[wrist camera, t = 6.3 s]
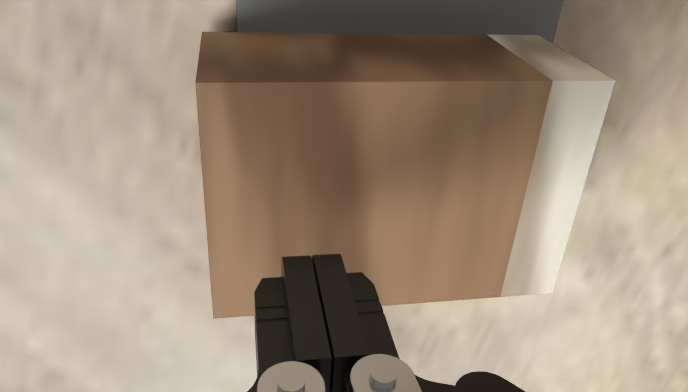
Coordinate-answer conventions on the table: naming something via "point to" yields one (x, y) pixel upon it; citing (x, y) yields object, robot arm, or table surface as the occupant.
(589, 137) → the brown and cream block
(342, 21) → the mat
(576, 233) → the table surface
